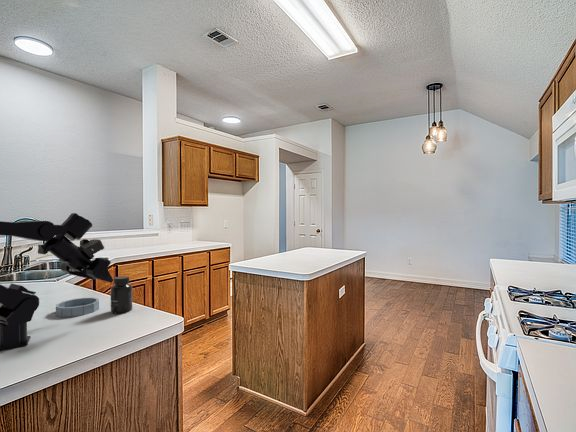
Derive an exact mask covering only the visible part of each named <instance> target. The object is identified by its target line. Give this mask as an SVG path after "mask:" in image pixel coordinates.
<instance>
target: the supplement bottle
mask: <svg viewBox="0 0 576 432" xmlns="http://www.w3.org/2000/svg"><path fill="white" fill-rule="evenodd" d="M131 311H133V286H132V284H130V276H126V275H125V276H121V275H120V276H116V277H114V278H113V285H112V286H111V288H110V313H112V314H115V315H119V314H121V315H122V314H126V313H129V312H131Z"/></svg>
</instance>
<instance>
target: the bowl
mask: <svg viewBox="0 0 576 432" xmlns="http://www.w3.org/2000/svg"><path fill="white" fill-rule="evenodd" d="M99 309H100V299H99V298H98V297H81V298H73V299H69V300H65V301H64V300H63V301H61V302H59V303H57V304H56V305H55V316H56V317H59V318H73V317H79V316H80V317H81V316H85V315H88V314H93V313H95V312H96V311H98V310H99Z"/></svg>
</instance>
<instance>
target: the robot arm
mask: <svg viewBox="0 0 576 432" xmlns="http://www.w3.org/2000/svg"><path fill="white" fill-rule="evenodd" d="M92 227H93V223H92V222H91V221H90V220H89V219H87V218H85V217H83V216H81V215H79V214H78V213H76V212H75V213H74V212H73V213H71V214H70V215H68V217H67V218H66V219H65V220H64V221H63V222H62V223H61V224H55V223H53V222H52V221H49V220H25V221H24V220H23V221H14V222H13V221H1V220H0V236H9V237H15V238H20V239H22V240H23V239H25V240H29V241H38V242H44V243H43V244H37V254H38V255H46V254H48V253H51V254H52V255H53V256H54V257H56V258H57V259H59V260H58V262H60V263H62V264H61V265H60V271H62V272H63V273H65V274H68V275H72V276H75V277H80V278H83V279H88V280H92V281H95V280H99V281H103V282H106V283H109V284H110V283H111V284H112V283H114V278H113V277H112V274H111V272H110V271H109V267H110V265H111V263H112V262H111V260H109V259H108V258H107V257H99V256H98V257H95V254H96V253H98V252H100V251H103V250H104V249H105V246H104V243H103V242H102V240H101V239H99V238H98V239H95V238H94V239H90V240H89V239H86V238H83V236H84V235H85V234H87V232H89V231H90V229H92ZM82 238H83V239H82ZM75 240H79V246H78V245H76V244H75V243H74V242H72V241H75ZM94 257H95V258H94ZM93 258H94V260H92V259H93ZM36 293H37V292H36V291H33V290H30V289H28V288H26V287H25V286H23V285H20V284H16V283H10V285H9V286H8V287H7V286H5V285H2V284H0V351H3V350H8V349H15V348H20V347H25V346H28V345H29V342H30V339H31V335H28V323H29V322H31V321H32V319H33V317H34V313H35V311H37V309H38V308H39V306H40V298H39V297H38V296H37V295H36Z"/></svg>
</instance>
